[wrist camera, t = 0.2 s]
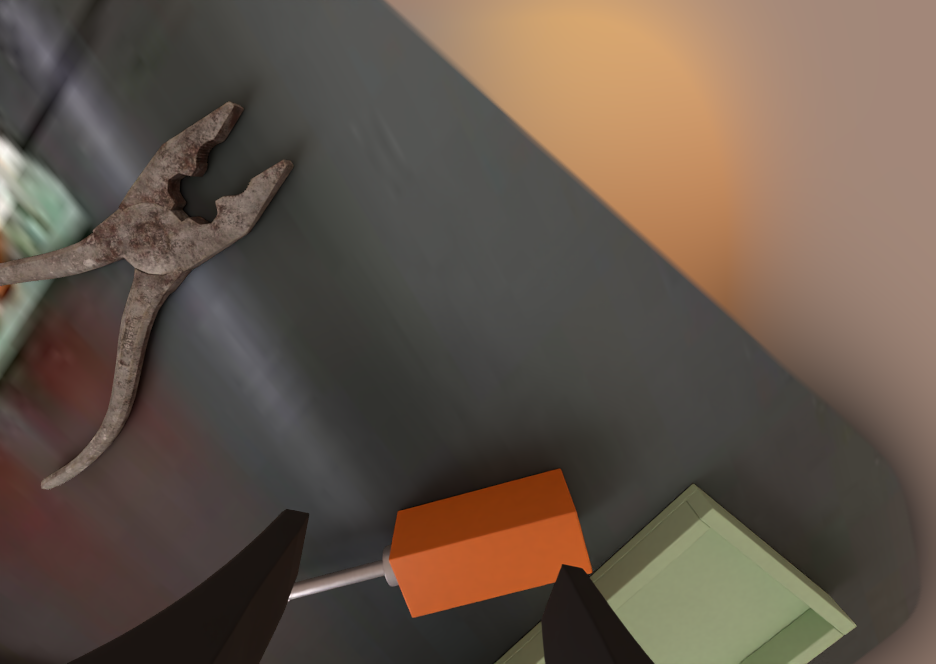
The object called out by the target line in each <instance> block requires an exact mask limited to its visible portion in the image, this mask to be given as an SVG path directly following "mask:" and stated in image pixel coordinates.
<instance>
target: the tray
mask: <svg viewBox="0 0 936 664" xmlns="http://www.w3.org/2000/svg"><path fill="white" fill-rule="evenodd" d="M590 579H591V580H592V581H593V583H594V584H595V586H596V587H597V588H598V590H599V591H600V593H601V594H602V595H603V597H604V598H605V600H606V601H607V602H608V604H609V605H610V607H611V608H612V609H613V611H614V612H615V613H616V615H617V616H618V618H619V619H620V620H621V622H622V623H623V624H624V626H625V627H626V628H627V630H628V631H629V632H630V634H631V635H632V636H633V637H634V639H635V640H636V641H637V643H638V644H639V645H640V646H641V648H642V649H643V650H644V651H645V653H646V654H647V655H648V656H649V657H650V659H651V660H652V661H653V662H654V663H655V664H807V663H808V662H809V661H811V660H812V659H813V658H815V657H816V656H817V655H819V654H820V653H821V652H823V651H824V650H825V649H827V648H828V647H829V646H831V645H832V644H833V643H834V642H836V641H837V640H838V639H840V638H841V637H842V636H843V634H844V635H846V634H847V633H848V632H850V631H851V630H852V629H854V628H855V627H856V624H855V623H854V622H853V621H852V620H851V619H850V618H849V617H848V615H847V614H846V613H845V612H844V611H843V610H842V609H841V608H840V607H839V606H838V604H837V603H836V602H834V600H833V599H832V598H831V597H830V596H829V595H828V594H827V593H826V592H825V591H823V590H822V589H821V588H820V587H819V586H817V585H816V584H815V583H814V582H812V581H811V580H810V579H809V578H808V577H806V576H805V575H804V574H803V573H802V572H800V571H799V570H798V569H797V568H796V567H794V566H793V565H792V564H791V563H789V562H788V561H787V560H786V559H785V558H783V557H782V556H781V555H780V554H779V553H777V552H776V551H775V550H774V549H772V548H771V547H770V546H769V545H768V544H766V543H765V542H764V541H763V540H762V539H760V538H759V537H758V536H757V535H755V534H754V533H753V532H752V531H751V530H749V529H748V528H747V527H746V526H745V525H743V524H742V523H741V522H740V521H738V520H737V519H736V518H735V517H734V516H732V515H731V514H730V513H729V512H728V511H726V510H725V509H724V508H723V507H722V506H720V505H719V504H718V503H717V502H715V501H714V500H713V499H712V498H711V497H709V496H708V495H707V494H706V493H705V492H703V491H702V490H701V489H700V488H698V487H697V486H696V485H695V484H692V485H691V486H690V487H689V488H688V489H687V490H685V491H684V492H683V493H682V494H681V495H680V496H679V497H678V498H677V499H675V500H674V501H673V502H672V503H671V504H670V505H669V506H668V507H667V508H666V509H664V510H663V511H662V512H661V513H660V514H659V515H658V516H657V517H656V518H655V519H653V520H652V521H651V522H650V523H649V524H648V525H647V526H646V527H645V528H643V529H642V530H641V531H640V532H639V533H638V534H637V535H636V536H635V537H634V538H632V539H631V540H630V541H629V542H628V543H627V544H626V545H625V546H624V547H623V548H621V549H620V550H619V551H618V552H617V553H616V554H615V555H614V556H613V557H611V558H610V559H609V560H608V561H607V562H606V563H605V564H604V565H603V566H602V567H600V568H599V569H598V570H597V571H596V572H595V573H594V574H593V575H592V576H590ZM494 664H545V659H544V649H543V638H542V624H541V622H540V623H539V624H538V625H536V626H535V627H534V628H533V629H532V630H531V631H530V632H529V633H528V634H526V635H525V636H524V637H523V638H522V639H521V640H520V641H519V642H518V643H517V644H515V645H514V646H513V647H512V648H511V649H510V650H509V651H508V652H507V653H505V654H504V655H503V656H502V657H501V658H500V659H499V660H498V661H497V662H496V663H494Z"/></svg>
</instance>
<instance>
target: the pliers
mask: <svg viewBox="0 0 936 664" xmlns="http://www.w3.org/2000/svg"><path fill="white" fill-rule="evenodd" d="M243 110H244V108H242V107H241V106H240V105H238V104H235V103H233V102H230V101H229V102H227V103H226V104H224V105H223V106H221V107H220V108H218V109H216V110H215V111H213V112H212V113H210V114H209V115H207V116H206V117H204V118H203V119H201V120H200V121H198V122H197V123H195V124H193V125H192V126H190V127H189V128H187V129H186V130H184V131H183V132H181V133H180V134H178V135H177V136H175V137H174V138H172V139H170V140H169V141H167V142H166V143H164V144H163V145H162V146H161V147H160V149H159V150H158V151H157V153H156V154H155V156H154V157H153V158H152V160H151V161H150V162H149V164H148V165H147V166H146V168H145V169H144V171H143V172H142V173H141V175H140V176H139V177H138V179H137V180H136V181H135V183H134V184H133V186H132V187H131V188H130V190H129V191H128V193H127V195H126V196H125V198H124V199H123V201H122V202H121V204H120V206H119V207H118V208H119V209H120V210H117V211H116V212H115V213H113V214H112V215H111V216H110V217H108V218H107V219H106V220H105V221H104V222H102V223H101V224H100V225H99V226H97V227H96V228H95V229H94V230H93V233H92V234H91V235H89V236H88V237H86V238H85V239H83V240H82V241H80V242H79V243H76V244H73V245H71V246H68V247H65V248H63V249H60V250H56V251H52V252H49V253H45V254H41V255H37V256H32V257H28V258H23V259H18V260H14V261H9V262H5V263H0V286H2V285H8V284H15V283H21V282H28V281H36V280H45V279H53V278H59V277H64V276H70V275H75V274H80V273H83V272H86V271H90V270H93V269H96V268H100V267H103V266H105V265H108V264H111V263H113V262H116V261H119V260H121V259H124V258H125V259H126V260H127V261H128V262H129V263H130V264H131V265H133V266H134V267H135V272H134V280H133V284H132V287H131V290H130V293H129V296H128V299H127V302H126V306H125V309H124V313H123V316H122V320H121V326H120V332H119V339H118V350H117V360H116V367H115V375H114V382H113V388H112V394H111V399H110V403H109V408H108V411H107V414H106V416H105V418H104V421H103V423H102V425H101V427H100V429H99V430H98V432H97V433H96V435H95V436H94V438H93V439H92V441H91V442H90V443H89V444H88V445H87V447H86V448H85V449H84V450H83V451H82V452H81V453H80V455H79V456H77V457H76V458H75V459H74V460H72V461H71V462H70V463H69V464H67V465H66V466H64V467H62V468H61V469H59V470H57V471H56V472H54V473H53V474H51V475H50V476H48V477H47V478H45V479H44V480H43V481H42V483H41V487H42V489H51V488H54V487H56V486H59V485H61V484H62V483H64V482H66V481H68V480H69V479H71V478H73V477H74V476H76V475H77V474H79V473H80V472H81V471H82V470H84V469H85V468H86V467H88V466H89V465H90V464H91V463H93V462H94V461H95V460H96V459H97V458H98V457H99V456H100V455H101V454H102V453H103V452H104V451H105V450H106V449H107V448H108V447H109V446H110V444H111V443H112V442H113V441H114V439H115V438H116V437H117V435H118V434H119V433H120V431H121V430H122V428H123V426H124V424H125V422H126V420H127V418H128V417H129V415H130V411H131V408H132V405H133V402H134V399H135V396H136V392H137V387H138V383H139V379H140V374H141V370H142V365H143V361H144V356H145V351H146V347H147V343H148V339H149V336H150V332H151V329H152V326H153V323H154V320H155V318H156V315H157V312H158V310H159V309H160V307H161V306H162V304H163V303H164V301H165V300H166V298H167V297H168V296H169V294H171V293H172V292H174V291H175V290H176V289H177V287H178V286H179V285H180V284H181V283H182V281H183V280H184V279H185V278H186V276H187V275H188V274H189V273H190V272H191V270H192V269H194V268H196V267H198V266H199V265H201V264H202V263H204V262H206V261H207V260H209V259H210V258H212V257H213V256H215V255H216V254H218V253H219V252H221V251H222V250H224V249H225V248H227V247H228V246H230V245H231V244H233V243H234V242H236V241H237V240H239V239H240V238H242V237H243V236H245V235H246V234H248V233H249V232H250V231H251V230H252V228H253V227H254V225H255V224H256V222H257V221H258V219H259V218H260V216H261V215H262V213H263V212H264V210H265V209H266V207H267V206H268V204H269V203H270V201H271V200H272V198H273V197H274V195H275V194H276V192H277V191H278V189H279V188H280V186H281V185H282V183H283V182H284V180H285V179H286V177H287V176H288V174H289V173H290V171H291V170H292V168H293V167H294V165H293V164H292V162H291V161H288V160H282V161H280V162H279V163H277V164H276V165H274V166H272V167H271V168H269V169H267V170H266V171H264V172H262V173H261V174H259V175H257V176H256V177H254V178H253V179H251V182H250V183H249V184H250V185H248V188H246V190H244V192H242V194H239V195H234V196H223V197H221V198H220V199H218V200H217V201H215V202H216V207H217V211H218V215H217V216H216V218H215V219H214V221H213V222H212V223H209V222H208V221H206V220H205V219H203V218H202V217H200V216H198V217H189V216H188V215H187V214H186V213H185V212H184V211H183V210H182V209H183V207H184V206H185V204H186V201H185V200H184V198H183V197H182V195H181V193H180V192H179V190H180V181H181V179H183V178H184V177H186V176H187V175H188V176H197V177H203V175H204V173H205V172H206V170H207V169H208V168H207V165H208V164H207V162H208V161H207V159H208V157H207V156H208V155H209V154H208V153H210V150H211V148H213V146H216V144H218V143H221V142H223V141H225V139H226V138H227V136H228V135H229V133H230V131H231V130H232V128H233V126H234V125H235V123H236V122H237V120H238V118H239V117H240V115H241V113H242V112H243Z"/></svg>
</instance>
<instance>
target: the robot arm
mask: <svg viewBox="0 0 936 664" xmlns="http://www.w3.org/2000/svg"><path fill="white" fill-rule="evenodd" d="M308 518H309V513H304V512H299V511H294V510H289V509H286V510H284V511H283V512H282V513H281V514H280V515H279V516H278V517H277V518H276V519H275V520H274V521H273V522H272V523H271V524H270V525H269V526H268V527H267V528H266V529H265V530H264V531H263V532H262V533H261V534H260V535H259V536H258V537H256V538H255V539H254V540H253V541H252V542H251V543H250V544H249V545H248V546H247V547H245V548H244V549H243V550H242V551H241V552H240V553H239V554H237V555H236V556H235V557H234V558H233V559H232V560H230V561H229V562H228V563H227V564H226V565H224V566H223V567H222V568H221V569H219V570H218V571H217V572H215V573H214V574H213V575H212V576H210V577H209V578H208V579H207V580H205V581H204V582H203V583H201V584H200V585H199V586H197V587H196V588H195V589H193V590H192V591H191V592H189V593H188V594H186V595H185V596H183V597H182V598H181V599H179V600H178V601H176V602H175V603H173V604H172V605H170V606H169V607H167V608H166V609H164V610H163V611H161V612H159V613H158V614H156V615H155V616H153V617H151V618H150V619H148V620H146V621H145V622H143V623H142V624H140V625H138V626H137V627H135V628H133V629H132V630H130V631H128V632H126V633H125V634H123V635H121V636H119V637H118V638H116V639H114V640H112V641H110V642H108V643H106V644H104V645H102V646H100V647H98V648H97V649H95V650H93V651H91V652H89V653H87V654H85V655H83V656H81V657H79V658H77V659H75V660H73V661H71V662H69V663H67V664H259V662H260V660H261V658H262V656H263V654H264V652H265V650H266V648H267V646H268V644H269V642H270V640H271V638H272V636H273V634H274V631H275V629H276V627H277V625H278V623H279V621H280V619H281V617H282V615H283V613H284V610H285V607H286V605H287V602H288V599H289V597H290V594H291V591H292V588H293V586H294V583H295V580H296V577H297V575H298V570H299V565H300V560H301V555H302V549H303V544H304V539H305V534H306V529H307V524H308ZM541 624H542V638H543V649H544V659H545V664H655V663H654V662H653V661H652V660H651V659H650V657H649V656H648V655H647V654H646V653H645V651H644V650H643V649H642V648H641V646H640V645H639V644H638V643H637V641H636V640H635V639H634V637H633V636H632V635H631V634H630V632H629V631H628V630H627V628H626V627H625V626H624V624H623V623H622V622H621V620H620V619H619V618H618V616H617V615H616V613H615V612H614V611H613V609H612V608H611V607H610V605H609V604H608V602H607V601H606V600H605V598H604V597H603V595H602V594H601V593H600V591H599V590H598V588H597V587H596V586H595V584H594V583H593V581H592V580H591V579H590V577H589V576H588V575H587V573H586V572H585V571H584V569H583V568H580V567H575V566H570V565H565V564H562V566H561V568H560V571H559V574H558V576H557V579H556V582H555V584H554V587H553V590H552V592H551V595H550V598H549V600H548V603H547V606H546V608H545V611H544V614H543V616H542V619H541Z"/></svg>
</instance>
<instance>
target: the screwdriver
mask: <svg viewBox="0 0 936 664" xmlns="http://www.w3.org/2000/svg"><path fill="white" fill-rule="evenodd" d="M562 564H565V565H570V566H575V567H580V568H583V569H584V571H585V572H586V573H587V574H590V573H592V567H591V564H590V560H589V556H588V552H587V549H586V545H585V541H584V537H583V534H582V530H581V526H580V523H579V519H578V515H577V512H576V509H575V506H574V503H573V501H572V498H571V495H570V492H569V490H568V487H567V484H566V482H565V479H564V476H563V473H562V471H561V469H555V470H552V471H548V472H544V473H540V474H537V475H533V476H529V477H525V478H521V479H518V480H514V481H510V482H506V483H503V484H499V485H495V486H491V487H488V488H484V489H480V490H476V491H472V492H469V493H465V494H461V495H457V496H454V497H450V498H446V499H442V500H439V501H435V502H431V503H427V504H424V505H420V506H416V507H412V508H408V509H405V510H401V511H398V513H397V518H396V523H395V529H394V534H393V539H392V545H389V546H386V547H385V548H384V550H383V557H382V560H379V561H376V562H372V563H368V564H364V565H360V566H356V567H352V568H349V569H345V570H341V571H337V572H333V573H329V574H325V575H322V576H318V577H314V578H310V579H306V580H302V581H298V582H295V583H294V586H293V588H292V591H291V594H290V597H289V599H288V601H291V599H295V598H299V597H303V596H307V595H310V594H314V593H318V592H322V591H326V590H330V589H334V588H338V587H342V586H345V585H349V584H353V583H357V582H361V581H365V580H369V579H373V578H376V577H380V576H384V575H385V578H386V580H387V582H388V584H389V585H390V586H396V585H399V586H400V589H401V591H402V594H403V596H404V599H405V601H406V603H407V606H408V608H409V611H410V613H411V615H412V617H413V618H414V617H418V616H422V615H426V614H430V613H434V612H438V611H442V610H446V609H450V608H454V607H458V606H462V605H466V604H470V603H474V602H478V601H482V600H486V599H490V598H494V597H498V596H502V595H506V594H510V593H514V592H518V591H522V590H526V589H530V588H534V587H538V586H542V585H546V584H550V583H554V582H556V579H557V576H558V574H559V571H560V568H561V566H562Z"/></svg>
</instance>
